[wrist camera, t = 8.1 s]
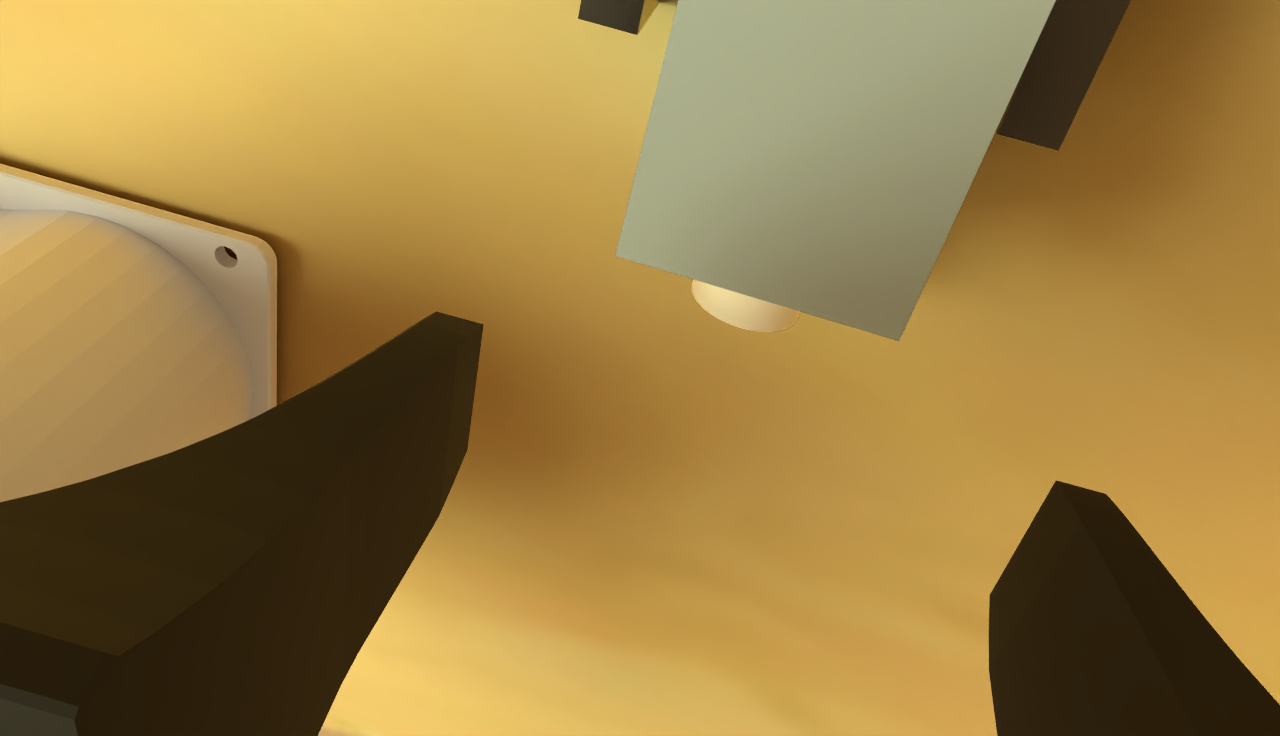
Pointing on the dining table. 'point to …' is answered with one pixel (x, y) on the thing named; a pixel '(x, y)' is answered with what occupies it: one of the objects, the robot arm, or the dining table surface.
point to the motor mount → (1044, 88)
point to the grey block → (820, 150)
